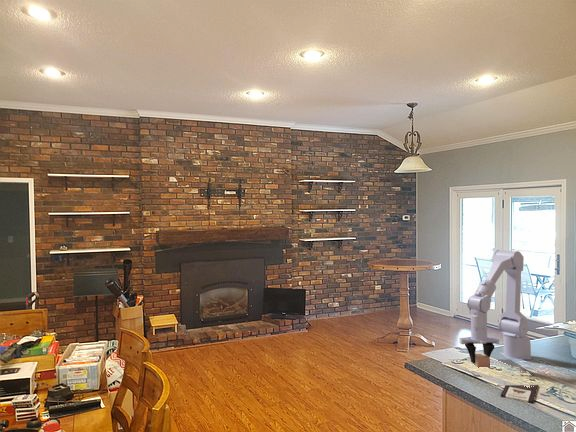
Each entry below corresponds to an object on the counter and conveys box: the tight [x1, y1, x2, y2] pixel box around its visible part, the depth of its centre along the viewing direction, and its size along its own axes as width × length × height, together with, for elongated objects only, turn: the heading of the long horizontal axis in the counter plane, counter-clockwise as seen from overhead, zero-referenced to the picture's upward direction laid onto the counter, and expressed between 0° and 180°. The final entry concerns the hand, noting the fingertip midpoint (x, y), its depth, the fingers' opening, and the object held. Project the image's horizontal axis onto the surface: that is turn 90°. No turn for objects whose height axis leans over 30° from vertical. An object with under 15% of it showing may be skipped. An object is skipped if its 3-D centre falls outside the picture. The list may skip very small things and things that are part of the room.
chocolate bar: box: [500, 384, 539, 405], centre depth 139 cm, size 9×1×18 cm
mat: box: [470, 358, 537, 378], centre depth 159 cm, size 22×18×1 cm
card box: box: [469, 351, 491, 368], centre depth 162 cm, size 4×7×4 cm, turn 0°
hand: (479, 362), depth 162 cm, fingers closed on card box, 4 cm apart
